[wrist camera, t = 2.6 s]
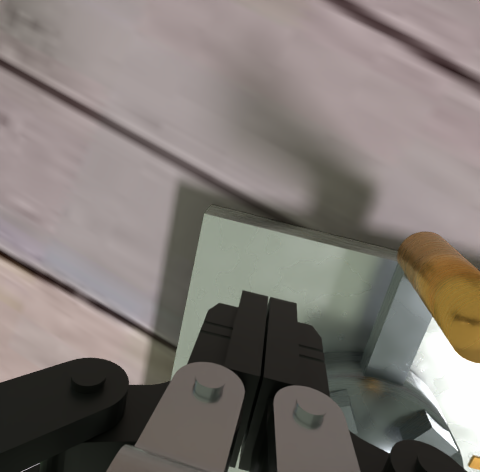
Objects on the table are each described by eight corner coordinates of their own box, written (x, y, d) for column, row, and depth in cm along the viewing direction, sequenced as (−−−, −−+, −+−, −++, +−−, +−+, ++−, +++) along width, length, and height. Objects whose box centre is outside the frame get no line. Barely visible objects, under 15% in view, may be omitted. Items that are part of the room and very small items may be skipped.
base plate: (211, 204, 24) (203, 214, 22) (594, 300, 23) (624, 318, 21) (154, 481, 31) (144, 507, 29) (443, 561, 30) (454, 594, 28)
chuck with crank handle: (317, 199, 21) (332, 256, 13) (536, 253, 20) (682, 344, 13) (237, 472, 27) (216, 617, 19) (403, 517, 26) (449, 685, 19)
